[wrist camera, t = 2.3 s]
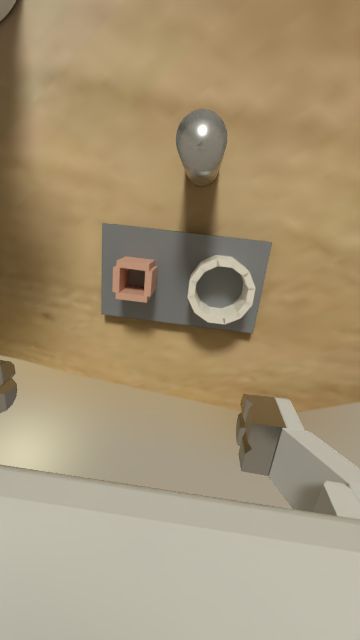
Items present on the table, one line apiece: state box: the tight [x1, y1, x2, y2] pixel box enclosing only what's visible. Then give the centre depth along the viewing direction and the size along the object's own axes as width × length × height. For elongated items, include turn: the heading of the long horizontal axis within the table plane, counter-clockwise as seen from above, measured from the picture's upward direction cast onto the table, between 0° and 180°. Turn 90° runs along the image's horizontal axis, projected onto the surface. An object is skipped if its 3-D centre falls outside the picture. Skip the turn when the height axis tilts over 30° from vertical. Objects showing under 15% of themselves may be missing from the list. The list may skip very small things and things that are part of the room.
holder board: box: [101, 223, 272, 334], centre depth 35 cm, size 21×12×6 cm, turn 84°
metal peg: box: [176, 109, 227, 186], centre depth 28 cm, size 4×4×12 cm
